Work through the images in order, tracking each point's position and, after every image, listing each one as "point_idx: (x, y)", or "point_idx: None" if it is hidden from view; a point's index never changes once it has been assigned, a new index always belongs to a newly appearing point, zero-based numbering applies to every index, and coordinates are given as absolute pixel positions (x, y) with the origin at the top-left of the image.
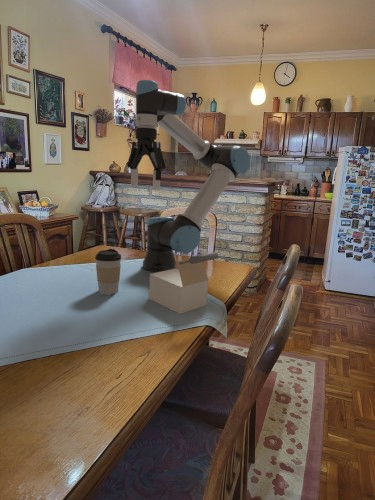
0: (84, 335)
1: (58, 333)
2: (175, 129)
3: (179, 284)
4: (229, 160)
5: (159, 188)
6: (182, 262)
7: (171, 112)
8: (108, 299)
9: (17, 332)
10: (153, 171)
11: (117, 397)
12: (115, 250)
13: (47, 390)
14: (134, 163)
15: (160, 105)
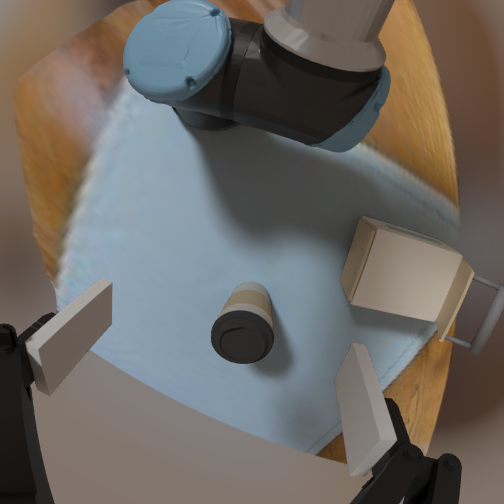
0: (337, 407)
1: (309, 417)
2: None
3: (427, 313)
4: None
5: (365, 352)
6: (451, 341)
7: None
8: (281, 326)
9: (271, 433)
10: (351, 471)
11: (417, 431)
12: (241, 326)
13: None
14: (35, 428)
15: None
